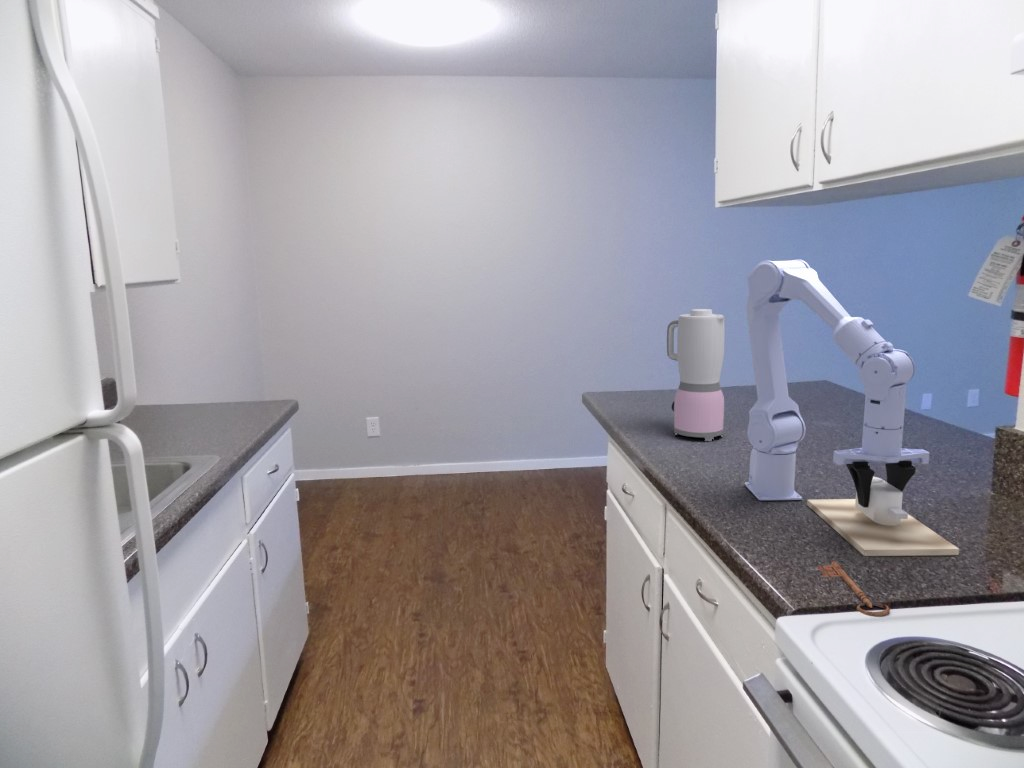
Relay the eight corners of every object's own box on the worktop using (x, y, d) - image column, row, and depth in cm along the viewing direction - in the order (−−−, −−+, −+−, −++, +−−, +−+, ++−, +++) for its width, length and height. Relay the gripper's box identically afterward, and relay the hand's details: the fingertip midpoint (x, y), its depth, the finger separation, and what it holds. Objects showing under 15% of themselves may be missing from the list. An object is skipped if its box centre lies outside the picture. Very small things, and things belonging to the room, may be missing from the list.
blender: (732, 435, 175) (737, 309, 169) (708, 445, 166) (712, 312, 161) (678, 425, 186) (681, 306, 180) (653, 434, 178) (654, 310, 172)
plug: (850, 503, 119) (852, 476, 118) (874, 503, 119) (876, 475, 118) (887, 531, 107) (889, 501, 106) (913, 531, 107) (916, 500, 106)
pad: (806, 504, 126) (807, 499, 126) (884, 503, 125) (885, 498, 125) (864, 556, 104) (864, 549, 104) (958, 555, 104) (959, 548, 104)
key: (807, 568, 102) (846, 620, 88) (806, 563, 102) (846, 613, 87) (847, 565, 102) (894, 617, 87) (847, 559, 101) (894, 610, 87)
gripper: (848, 432, 108) (843, 514, 110) (943, 430, 107) (935, 513, 110) (829, 421, 115) (825, 499, 117) (918, 420, 114) (911, 498, 117)
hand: (877, 505), depth 114 cm, fingers closed on plug, 4 cm apart
